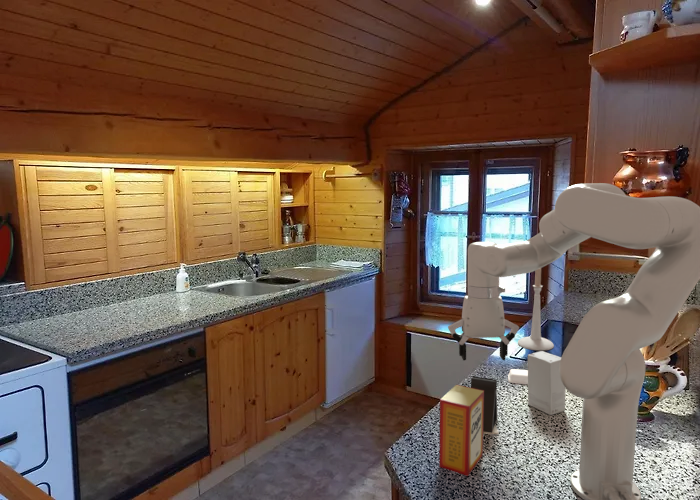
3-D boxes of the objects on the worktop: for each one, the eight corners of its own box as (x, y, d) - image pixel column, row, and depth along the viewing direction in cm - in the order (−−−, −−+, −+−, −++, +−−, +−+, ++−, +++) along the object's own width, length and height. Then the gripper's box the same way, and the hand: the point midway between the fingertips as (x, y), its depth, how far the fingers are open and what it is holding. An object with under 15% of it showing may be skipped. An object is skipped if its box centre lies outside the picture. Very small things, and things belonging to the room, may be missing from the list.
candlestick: (542, 353, 179) (545, 271, 175) (511, 344, 188) (513, 267, 184) (560, 345, 187) (563, 267, 183) (529, 337, 197) (531, 263, 192)
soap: (537, 378, 157) (537, 369, 157) (539, 386, 151) (539, 377, 150) (507, 375, 160) (507, 366, 159) (508, 383, 153) (508, 374, 153)
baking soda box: (455, 447, 117) (456, 382, 114) (482, 455, 113) (484, 389, 111) (439, 466, 109) (439, 397, 107) (467, 476, 105) (469, 405, 103)
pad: (498, 434, 122) (498, 432, 122) (469, 433, 123) (469, 432, 123) (489, 415, 132) (489, 413, 132) (463, 414, 133) (463, 413, 133)
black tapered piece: (474, 413, 132) (475, 370, 131) (497, 417, 130) (498, 374, 128) (467, 428, 124) (468, 383, 123) (491, 433, 122) (492, 387, 120)
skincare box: (565, 411, 134) (567, 358, 132) (549, 416, 131) (551, 362, 129) (541, 399, 141) (543, 349, 139) (525, 404, 138) (527, 353, 136)
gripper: (514, 288, 126) (514, 353, 128) (446, 289, 127) (446, 353, 129) (523, 294, 118) (522, 363, 120) (450, 295, 120) (450, 363, 122)
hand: (483, 358), depth 125 cm, fingers open, 9 cm apart
